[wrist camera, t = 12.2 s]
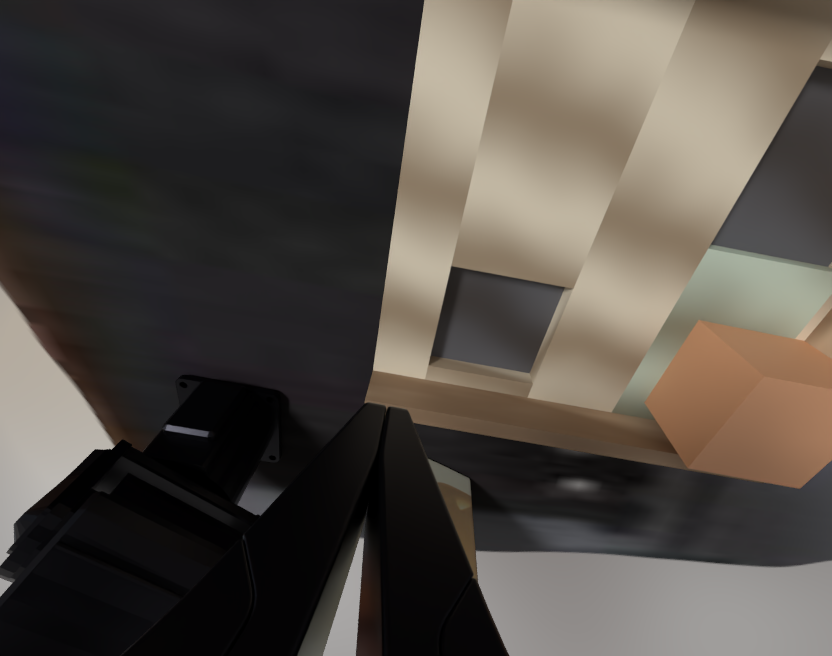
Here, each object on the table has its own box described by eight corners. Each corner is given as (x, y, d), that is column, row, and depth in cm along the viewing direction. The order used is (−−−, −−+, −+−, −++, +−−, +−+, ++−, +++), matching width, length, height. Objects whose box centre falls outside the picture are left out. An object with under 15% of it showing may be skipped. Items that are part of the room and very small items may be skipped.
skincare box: (427, 519, 30) (418, 738, 20) (380, 498, 30) (344, 717, 19) (474, 475, 27) (492, 706, 17) (423, 451, 27) (408, 679, 16)
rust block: (736, 420, 22) (799, 488, 18) (644, 402, 22) (687, 468, 18) (804, 340, 19) (896, 402, 15) (698, 319, 19) (764, 376, 15)
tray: (721, 432, 24) (763, 483, 21) (374, 371, 23) (363, 413, 20) (1074, 3, 13) (1275, -28, 10) (445, -133, 12) (446, -213, 9)
